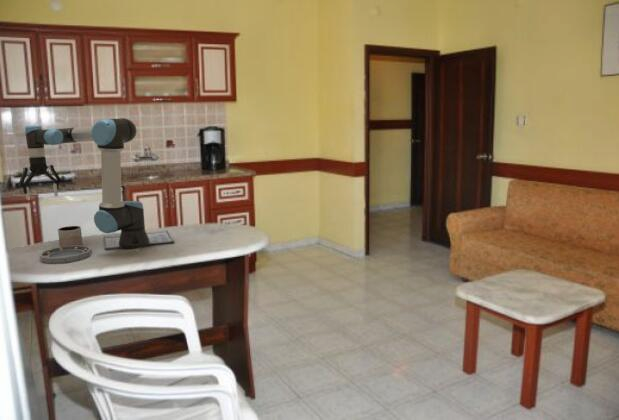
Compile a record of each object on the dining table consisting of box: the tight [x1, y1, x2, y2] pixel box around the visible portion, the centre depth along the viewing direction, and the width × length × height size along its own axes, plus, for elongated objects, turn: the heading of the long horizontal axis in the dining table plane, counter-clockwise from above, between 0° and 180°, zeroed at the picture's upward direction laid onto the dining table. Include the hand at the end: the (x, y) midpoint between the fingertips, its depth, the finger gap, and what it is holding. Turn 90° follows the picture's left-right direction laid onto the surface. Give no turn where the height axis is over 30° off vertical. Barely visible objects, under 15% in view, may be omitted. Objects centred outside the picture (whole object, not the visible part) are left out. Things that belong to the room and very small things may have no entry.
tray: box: [38, 245, 93, 265], centre depth 248 cm, size 22×22×3 cm
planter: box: [57, 225, 84, 247], centre depth 267 cm, size 11×11×10 cm
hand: (42, 198), depth 266 cm, fingers open, 13 cm apart
